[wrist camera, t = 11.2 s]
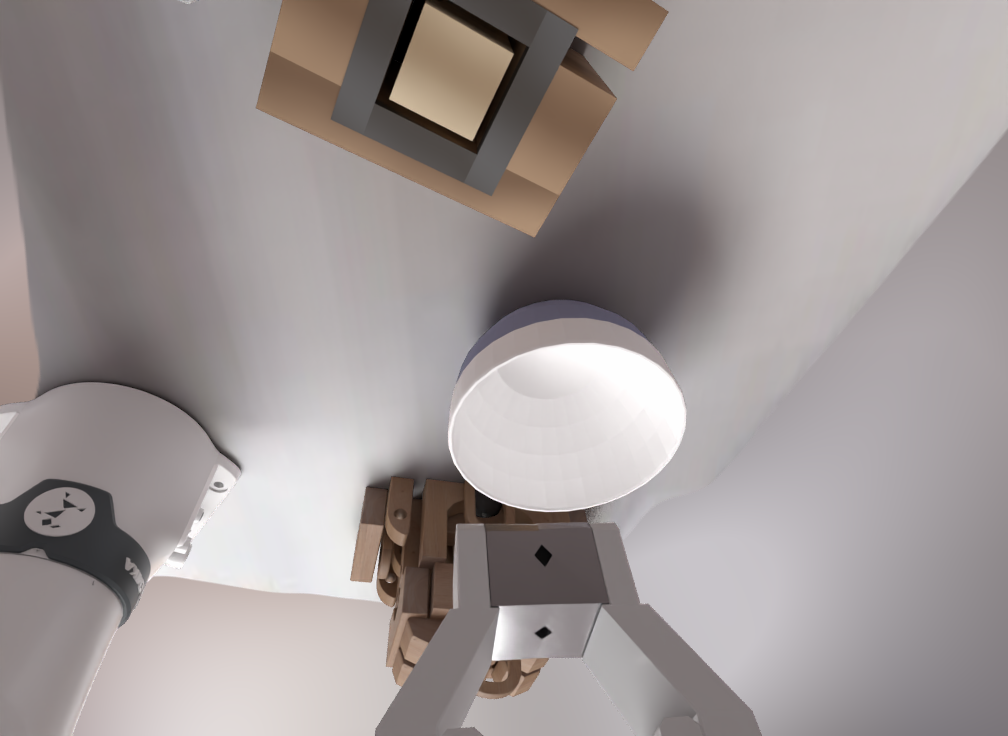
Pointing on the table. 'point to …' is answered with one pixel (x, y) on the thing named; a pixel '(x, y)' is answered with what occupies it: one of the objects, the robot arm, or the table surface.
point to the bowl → (563, 409)
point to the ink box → (188, 1)
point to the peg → (452, 67)
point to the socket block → (510, 116)
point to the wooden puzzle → (431, 568)
